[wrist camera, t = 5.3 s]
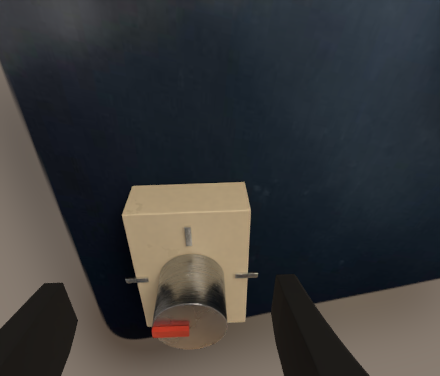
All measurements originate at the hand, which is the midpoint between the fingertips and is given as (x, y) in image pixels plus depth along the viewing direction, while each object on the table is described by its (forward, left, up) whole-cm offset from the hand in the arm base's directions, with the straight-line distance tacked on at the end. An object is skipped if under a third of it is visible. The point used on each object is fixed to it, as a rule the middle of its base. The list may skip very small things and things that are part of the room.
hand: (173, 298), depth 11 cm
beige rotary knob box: (0, -6, -9) cm, 11 cm away
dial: (0, -6, -6) cm, 9 cm away
